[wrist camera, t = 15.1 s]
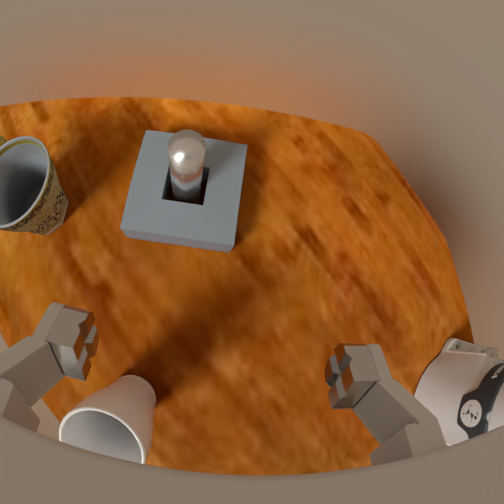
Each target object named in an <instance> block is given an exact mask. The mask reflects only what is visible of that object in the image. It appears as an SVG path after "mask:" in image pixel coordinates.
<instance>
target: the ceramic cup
mask: <svg viewBox="0 0 504 504" xmlns="http://www.w3.org/2000/svg"><path fill="white" fill-rule="evenodd" d="M67 206H68V200H67V197H66V195H65V193H64V191H63V189H62V187H61V185H60V183H59V180H58V176H57V173H56V170H55V167H54V164H53V162H52V159H51V157H50V155H49V153H48V150H47V148H46V147H45V145H44V144H43V143H42V142H41V141H40V140H38V139H37V138H34V137H30V136H22V137H17V138H14V139H12V140H10V141H8V142H7V141H6V139H5V138H4V137H3V136H0V229H1V230H6V231H14V232H31V233H36V234H42V235H49V234H50V233H52V232H53V231H54V230H55V229H57V228H58V227H59V226H60V225H62V224H63V221H64V218H65V214H66V210H67Z"/></svg>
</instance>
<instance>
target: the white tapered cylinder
mask: <svg viewBox="0 0 504 504" xmlns="http://www.w3.org/2000/svg"><path fill="white" fill-rule="evenodd" d="M155 405H156V395H155V391H154V389H153V388H152V386H151V385H150V384H149V383H148V382H147V381H146V380H145V379H143V378H141V377H139V376H136V375H125V376H122V377H120V378H118V379H117V380H116V381H115V382H113V383H111V384H109V385H107V386H105V387H104V388H102V389H100V390H98V391H96V392H94V393H92V394H90V395H89V396H87V397H85V398H84V399H83V400H81V401H80V402H79V403H78V404H77V405H75V406H74V407H73V408H72V409H71V410H70V412H69V413H68V414H67V415H66V416H65V417H64V418H63V420H62V422H61V425H60V429H59V439H60V441H61V442H64V443H67V444H70V445H73V446H76V447H79V448H82V449H85V450H89V451H92V452H95V453H99V454H103V455H106V456H110V457H114V458H118V459H123V460H127V461H132V462H136V463H141V464H145V463H146V461H147V458H148V455H149V452H150V448H151V444H152V436H153V421H154V408H155Z"/></svg>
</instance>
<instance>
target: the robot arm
mask: <svg viewBox="0 0 504 504" xmlns="http://www.w3.org/2000/svg"><path fill="white" fill-rule="evenodd" d="M94 321H95V317H94V313H93V312H91V311H87V310H83V309H79V308H75V307H71V306H68V305H63V304H60V303H56V302H53V303H51V304H50V305H49V307H48V309H47V310H46V312H45V314H44V315H43V317H42V319H41V321H40V323H39V324H38V326H37V328H36V330H35V332H34V334H33V335H32V337H31V336H27V337H26V338H24V339H23V340H21V341H19V342H18V343H16V344H15V345H13V346H12V347H10V348H8V349H7V350H6V351H4V352H2V353H1V354H0V504H504V360H501V359H497V354H498V349H497V348H486V347H483V346H479V345H476V344H473V343H469V342H466V341H463V340H459V339H456V338H449V339H448V340H447V342H446V343H445V345H444V347H443V349H442V351H441V353H440V354H439V355H438V356H437V357H436V358H435V359H434V360H433V361H432V363H431V364H430V365H429V366H428V367H427V369H426V370H425V372H424V374H423V375H422V377H421V379H420V381H419V384H418V386H417V389H416V392H415V396H413V395H412V394H411V393H410V392H408V391H407V390H406V389H405V388H404V387H403V386H402V385H401V384H400V383H399V382H398V381H396V380H393V379H392V376H391V374H390V371H389V368H388V365H387V363H386V360H385V358H384V355H383V352H382V350H381V347H380V346H379V345H378V344H353V343H340V344H338V345H337V346H336V348H335V349H334V351H335V355H333V356H331V357H330V358H329V359H328V361H327V363H326V367H325V380H326V383H327V384H328V385H329V386H330V387H331V389H330V391H329V393H328V395H329V399H330V404H331V409H348V408H353V409H352V410H353V411H354V412H355V413H356V415H357V416H358V417H359V418H360V420H361V421H362V422H363V424H364V425H365V426H366V427H367V429H368V430H369V431H370V432H371V434H372V435H373V436H374V437H375V439H376V440H377V441H378V442H379V443H380V446H379V447H378V448H376V449H375V450H373V451H372V452H371V454H370V459H371V463H372V466H367V467H361V468H354V469H347V470H340V471H332V472H322V473H311V474H295V475H229V474H214V473H202V472H193V471H184V470H177V469H170V468H163V467H157V466H152V465H146V464H141V463H136V462H132V461H127V460H123V459H118V458H114V457H110V456H106V455H103V454H99V453H95V452H92V451H89V450H85V449H82V448H79V447H76V446H73V445H70V444H67V443H64V442H61V441H58V440H55V439H53V438H50V437H47V436H45V435H42V434H40V433H37V429H38V425H39V423H40V420H39V418H38V416H37V415H36V414H35V413H34V411H33V410H32V409H31V408H30V407H31V406H32V405H33V404H35V403H36V402H37V401H38V400H39V399H40V398H41V397H42V396H43V395H44V394H46V393H47V392H48V391H49V390H50V389H51V388H52V387H53V386H54V385H56V384H57V383H58V382H59V381H60V380H61V379H62V378H63V377H64V376H68V377H72V378H75V379H79V380H83V381H86V379H87V376H88V373H89V370H90V368H91V363H90V360H89V359H90V358H91V357H93V356H94V355H95V353H96V351H97V347H98V341H99V335H98V329H97V328H96V327H95V326H94V325H93V324H94ZM446 445H448V447H447V446H446Z"/></svg>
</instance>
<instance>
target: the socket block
mask: <svg viewBox="0 0 504 504" xmlns="http://www.w3.org/2000/svg"><path fill="white" fill-rule="evenodd" d="M174 134H175V133H168V132H159V131H150V130H146V132H145V135H144V139H143V142H142V145H141V148H140V152H139V155H138V159H137V162H136V166H135V169H134V173H133V177H132V180H131V184H130V188H129V192H128V196H127V200H126V205H125V209H124V213H123V218H122V222H121V227H120V229H121V230H122V231H123V233H124V234H125V235H126V236H127V237H128V238H135V239H141V240H148V241H155V242H161V243H168V244H175V245H181V246H188V247H195V248H201V249H208V250H215V251H222V252H228V253H229V252H230V251H231V249H232V248H233V246H234V242H235V234H236V226H237V218H238V211H239V203H240V196H241V188H242V181H243V173H244V166H245V159H246V152H247V145H245V144H240V143H234V142H228V141H223V140H217V139H210V138H204V137H203V138H204V140H205V143H206V147H205V155H204V164H203V172H202V181H205V182H207V187H206V192H205V198H204V204H203V205H197V204H191V203H184V202H177V201H170V200H167V195H168V190H169V186H170V181H171V175H170V165H169V156H168V142H169V139H170V138H171V137H172V136H173V135H174Z"/></svg>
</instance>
